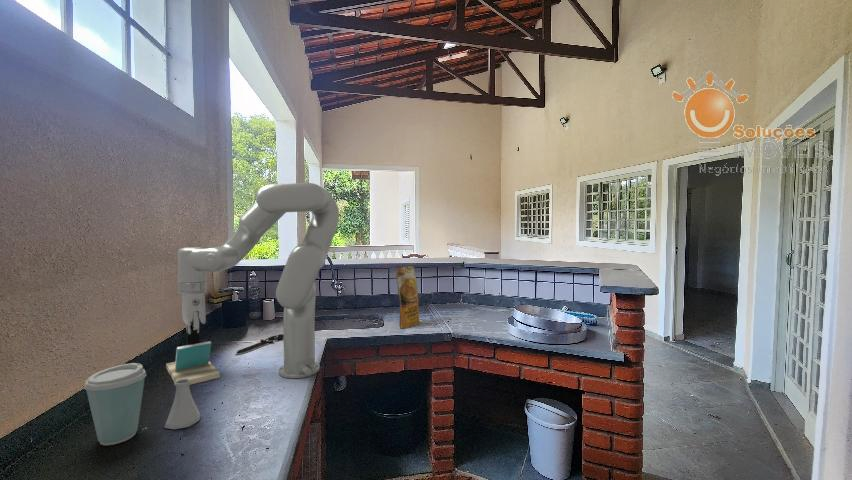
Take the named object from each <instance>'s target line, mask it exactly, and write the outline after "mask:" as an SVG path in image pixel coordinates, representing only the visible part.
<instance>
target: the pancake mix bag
mask: <svg viewBox="0 0 852 480" xmlns="http://www.w3.org/2000/svg"><path fill="white" fill-rule="evenodd" d="M395 272H396V273H395V274H396V275H395V276H396V278H395V279H396V283H397V284H396V285H397V294H398V297H399V325H398V326H399V327H400V328H402V329H409V328H411V327H410V326H412V325H414V326H415V324H416V325H418V324H420V323H419V322H421V321H420V313H419V312H420V311H419V308H420V307H419V290H418V283H417V276H416V272H415V267H414V265H408V266H401V267H398V268H397V269H396V271H395ZM417 323H418V324H417ZM408 327H409V328H408ZM412 327H413V326H412ZM400 328H399V329H400Z"/></svg>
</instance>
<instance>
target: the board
mask: <svg viewBox="0 0 852 480" xmlns="http://www.w3.org/2000/svg"><path fill="white" fill-rule="evenodd" d="M175 362H176V361H172V362H168V363H165V368H166V370H167V372H168V374H169V376H170V377H171V379H172V381H173V382H174V383H175V381H177V380H180V379H186V378H187V379H191V380H190V383H189V386H191V385H195V384H201V383H203V382H208V381H212V380H216V379H220V378H221V373H220V371H219V370H218V369H217V368H216V367H215V366H214V365H213V364H212V363H211V361H209V364H206V365H202V366H197V367H192V368H188V369H183V370H178V371H175ZM174 383H173V384H174Z"/></svg>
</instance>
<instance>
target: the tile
mask: <svg viewBox="0 0 852 480" xmlns="http://www.w3.org/2000/svg"><path fill="white" fill-rule="evenodd" d="M211 347H212V341H211V340H209V341H204V342H199V343H197V344H193V345H186V344H185V345H181V346H177V347H176V351H175V352H176V353H175V361H174V362H175V371H178V370H183V369H188V368H192V367H197V366H202V365H206V364H209V362H210V358H211V357H210V356H211Z"/></svg>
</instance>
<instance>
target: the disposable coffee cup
mask: <svg viewBox="0 0 852 480" xmlns="http://www.w3.org/2000/svg"><path fill="white" fill-rule="evenodd" d="M146 377H147V372H146V370H145V368H144V366H143V364H141V363H137V362H130V363H124V364H123V363H122V364H120V365H115V366H111V367H108V368H106V369H103V370H100V371H97V372H95V373H93V374H92V375H91V376H88V378H87V379H86V380H85V381H84V390H86V394H87V400H88V403H89V409H90V411H91V417H92V420H93V425H94V429H95V434H96V438H97V442H99V444H100V446H101V445H102V446H105V447H106V446H113V445H116V444H120V443H123V442H124V443H125V442H126V441H128V440H131V439H132V438H133V437H134V436H135V435H136V434H137V431H138V430H139V429H138V427H139V420H140V414H141V407H142V401H143V400H142V399H143V392H144V386H145V380H146V379H145V378H146Z"/></svg>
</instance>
